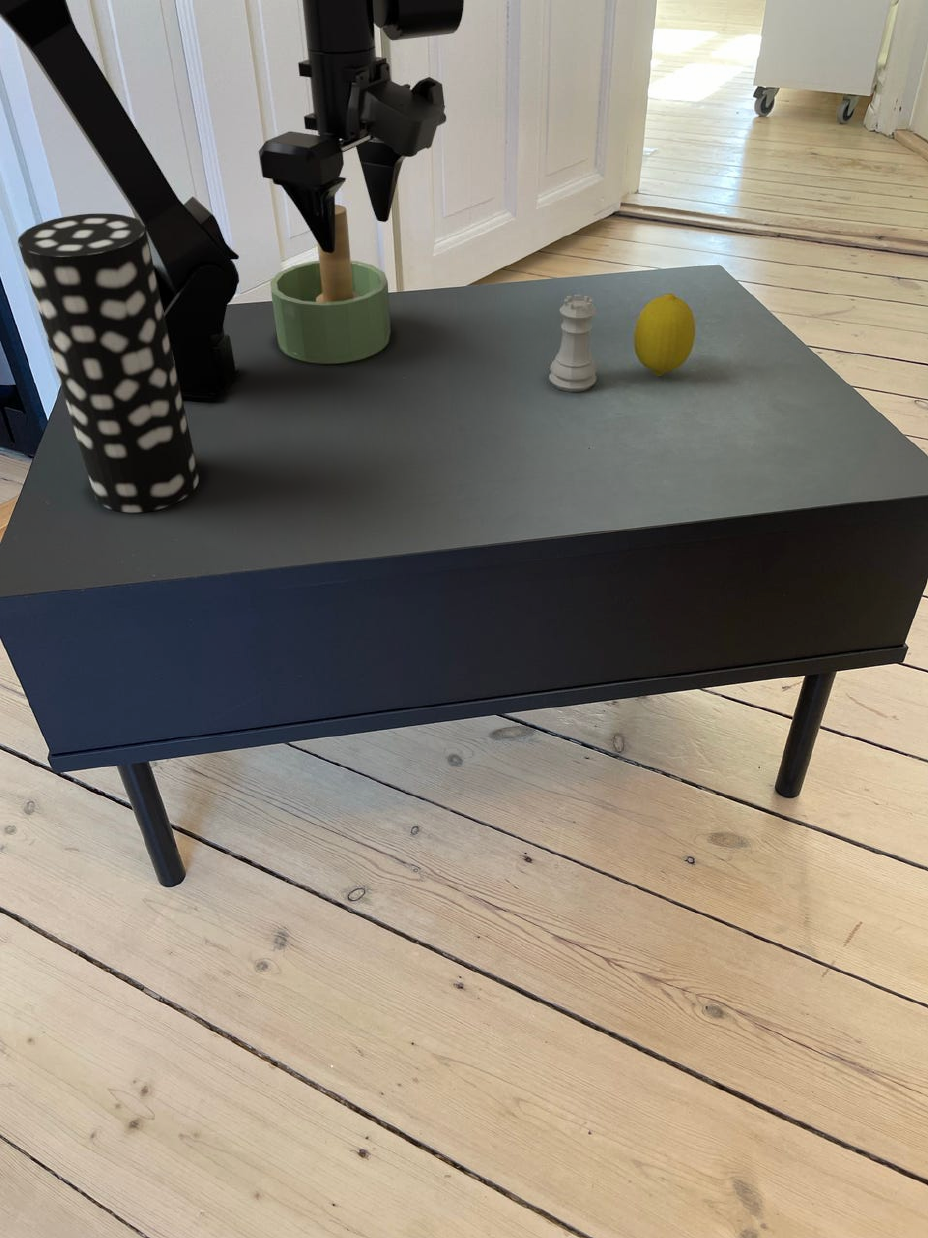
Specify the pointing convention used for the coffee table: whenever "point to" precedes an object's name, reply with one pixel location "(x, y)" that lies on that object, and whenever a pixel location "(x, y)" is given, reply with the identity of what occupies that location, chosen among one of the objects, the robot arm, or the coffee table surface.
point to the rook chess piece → (574, 347)
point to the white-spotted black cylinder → (113, 357)
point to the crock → (330, 315)
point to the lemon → (664, 334)
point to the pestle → (337, 264)
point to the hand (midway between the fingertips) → (356, 235)
